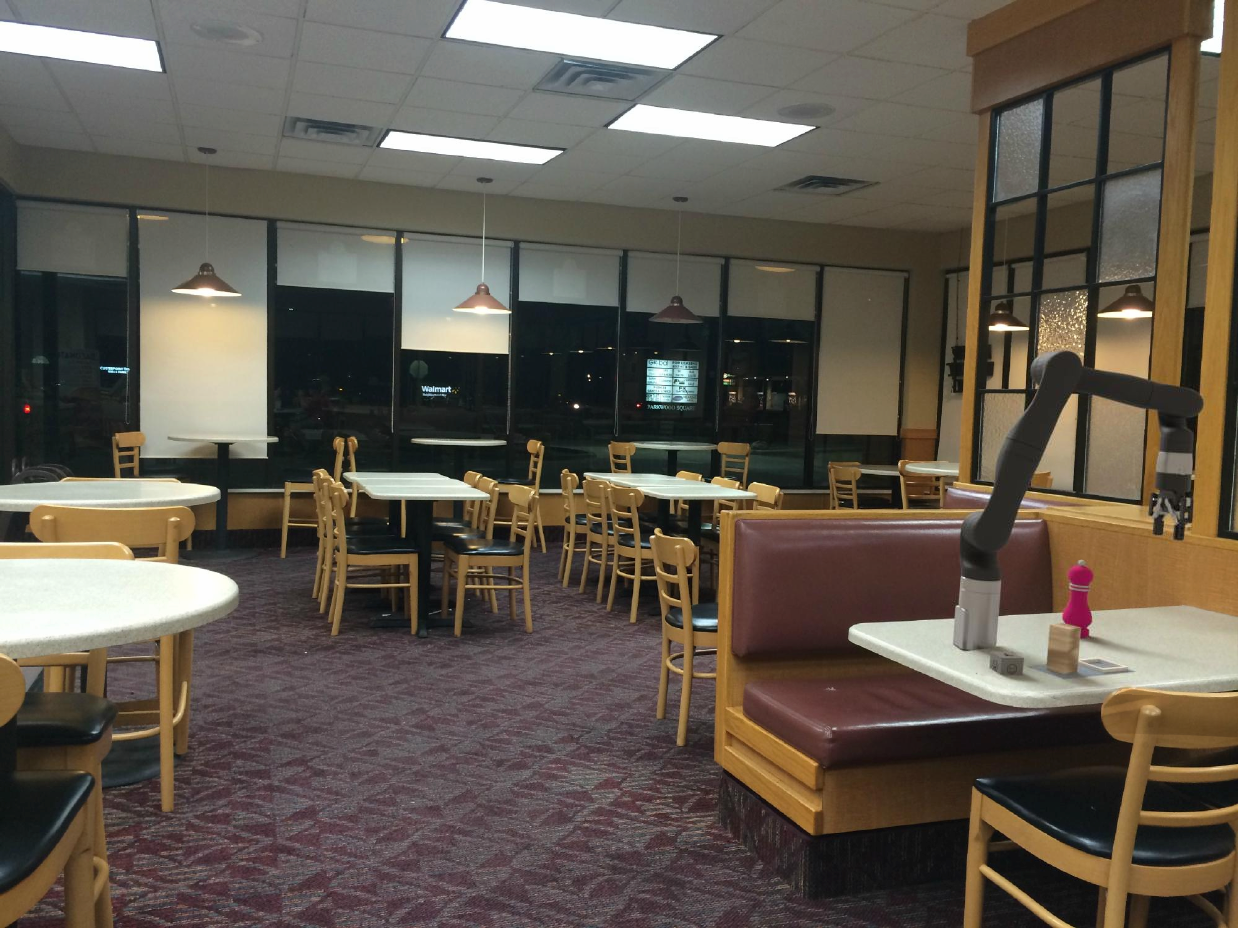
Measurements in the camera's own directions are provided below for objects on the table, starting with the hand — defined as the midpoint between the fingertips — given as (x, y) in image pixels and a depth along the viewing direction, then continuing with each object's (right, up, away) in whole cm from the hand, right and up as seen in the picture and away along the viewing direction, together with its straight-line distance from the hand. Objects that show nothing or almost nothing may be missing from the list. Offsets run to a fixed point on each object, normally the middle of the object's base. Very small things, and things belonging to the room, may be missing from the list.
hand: (1167, 537), depth 233 cm
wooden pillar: (-35, -28, -21) cm, 50 cm away
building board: (-30, -29, -18) cm, 46 cm away
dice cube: (-49, -29, -24) cm, 62 cm away
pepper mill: (-13, -28, +21) cm, 37 cm away
